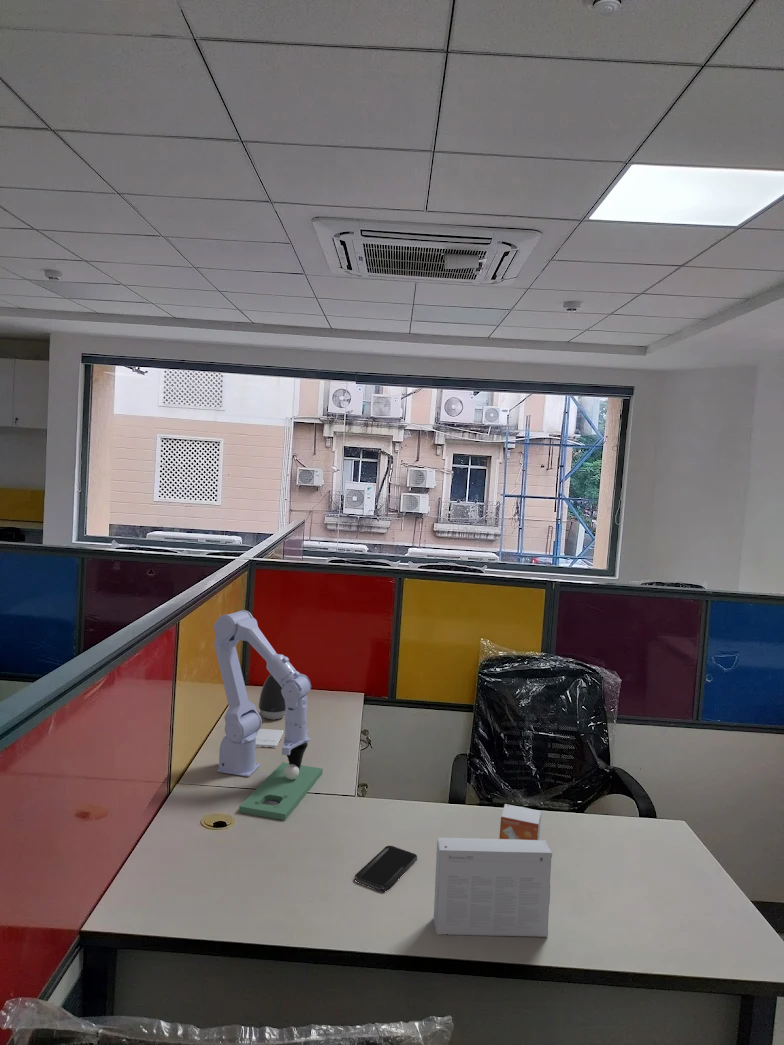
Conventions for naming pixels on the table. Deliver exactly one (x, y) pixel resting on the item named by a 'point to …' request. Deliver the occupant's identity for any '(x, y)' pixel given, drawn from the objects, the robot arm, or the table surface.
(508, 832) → the small box
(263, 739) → the external hard drive
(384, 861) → the phone
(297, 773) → the ball
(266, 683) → the pump dispenser
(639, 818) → the table surface
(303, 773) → the putting deck
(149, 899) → the table surface
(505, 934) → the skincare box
